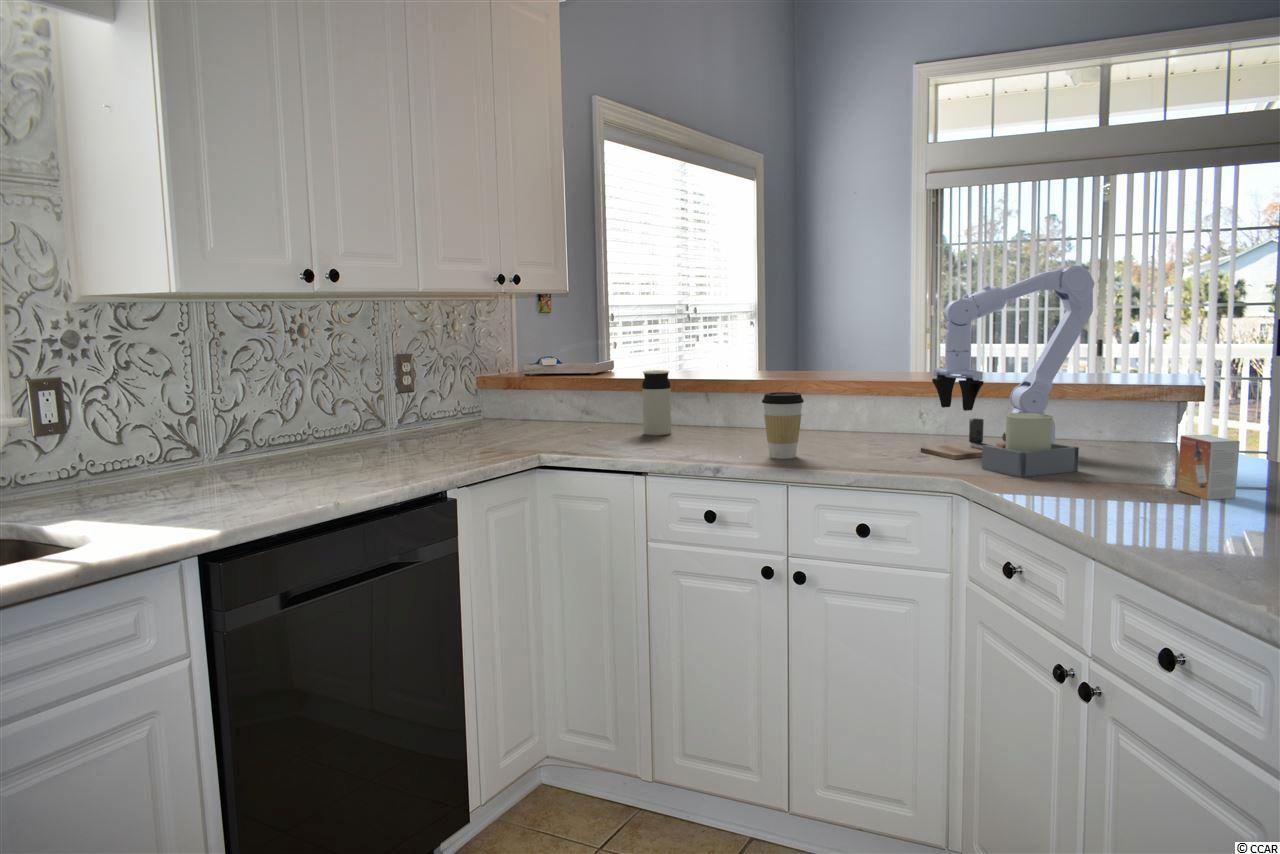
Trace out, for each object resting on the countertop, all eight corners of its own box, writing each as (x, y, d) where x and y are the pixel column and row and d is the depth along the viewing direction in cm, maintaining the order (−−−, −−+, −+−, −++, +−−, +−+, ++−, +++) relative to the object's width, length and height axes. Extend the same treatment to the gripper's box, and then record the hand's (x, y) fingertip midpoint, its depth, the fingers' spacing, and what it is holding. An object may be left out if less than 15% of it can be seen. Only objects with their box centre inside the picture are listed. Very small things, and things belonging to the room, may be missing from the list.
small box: (1175, 491, 166) (1179, 434, 164) (1204, 489, 166) (1207, 433, 165) (1206, 500, 158) (1210, 441, 156) (1236, 498, 158) (1240, 440, 157)
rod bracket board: (954, 448, 218) (954, 444, 218) (989, 455, 207) (989, 451, 207) (920, 451, 215) (920, 447, 214) (954, 459, 203) (954, 455, 203)
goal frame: (1036, 462, 197) (1037, 440, 197) (1077, 470, 187) (1078, 447, 186) (981, 468, 192) (982, 445, 191) (1021, 477, 181) (1022, 453, 181)
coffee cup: (808, 454, 215) (808, 392, 213) (797, 461, 206) (797, 396, 204) (768, 452, 219) (768, 391, 217) (756, 458, 210) (756, 395, 208)
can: (1056, 473, 184) (1058, 416, 183) (1008, 473, 186) (1010, 416, 185) (1045, 465, 193) (1047, 410, 192) (1000, 465, 195) (1001, 410, 194)
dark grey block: (979, 454, 206) (980, 417, 205) (1021, 463, 195) (1022, 424, 193) (962, 456, 205) (963, 419, 204) (1003, 465, 193) (1004, 425, 192)
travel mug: (671, 435, 251) (670, 371, 248) (643, 436, 251) (641, 372, 248) (671, 431, 259) (669, 369, 256) (643, 432, 259) (642, 370, 256)
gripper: (924, 350, 215) (922, 406, 217) (965, 353, 202) (964, 412, 204) (947, 349, 218) (946, 405, 220) (990, 352, 204) (988, 410, 206)
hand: (956, 408), depth 212 cm, fingers open, 7 cm apart
